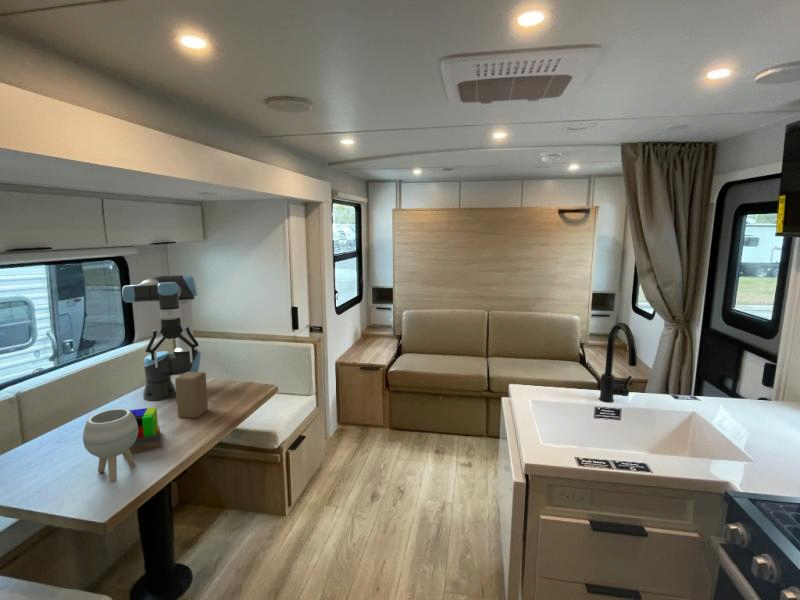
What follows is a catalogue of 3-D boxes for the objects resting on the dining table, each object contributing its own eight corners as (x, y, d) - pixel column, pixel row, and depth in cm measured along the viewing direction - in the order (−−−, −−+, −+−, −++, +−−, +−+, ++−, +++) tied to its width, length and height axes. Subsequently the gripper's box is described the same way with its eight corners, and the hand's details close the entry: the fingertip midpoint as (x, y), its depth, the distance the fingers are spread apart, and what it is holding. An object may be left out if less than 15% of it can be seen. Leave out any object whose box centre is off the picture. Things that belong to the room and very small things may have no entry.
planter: (85, 472, 146) (78, 415, 142) (136, 455, 157) (131, 402, 154) (91, 492, 135) (84, 431, 131) (146, 473, 146) (141, 416, 142)
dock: (124, 439, 169) (123, 427, 168) (160, 432, 176) (158, 420, 175) (123, 456, 157) (121, 443, 156) (161, 447, 164) (160, 435, 163)
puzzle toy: (131, 432, 169) (129, 410, 167) (158, 428, 173) (156, 406, 171) (125, 443, 160) (122, 420, 158) (153, 439, 164) (151, 417, 162)
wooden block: (209, 409, 198) (206, 371, 195) (197, 419, 189) (194, 379, 185) (190, 408, 199) (187, 370, 196) (177, 417, 190) (173, 377, 186)
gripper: (135, 322, 163) (140, 371, 167) (203, 316, 176) (206, 362, 179) (136, 318, 169) (141, 366, 173) (201, 313, 182) (204, 357, 186)
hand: (174, 364), depth 176 cm, fingers open, 13 cm apart
